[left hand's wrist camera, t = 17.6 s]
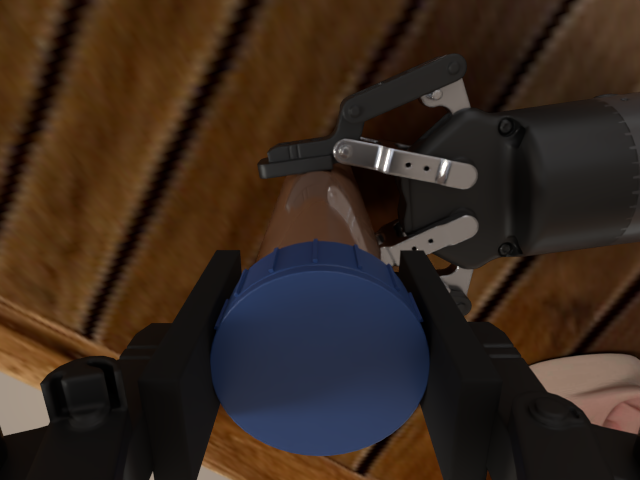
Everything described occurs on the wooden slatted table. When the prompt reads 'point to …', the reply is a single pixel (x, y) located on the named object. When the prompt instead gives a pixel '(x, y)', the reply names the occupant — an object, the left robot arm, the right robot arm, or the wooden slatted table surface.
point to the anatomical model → (597, 387)
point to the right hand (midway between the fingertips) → (271, 217)
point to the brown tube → (320, 212)
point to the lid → (320, 350)
